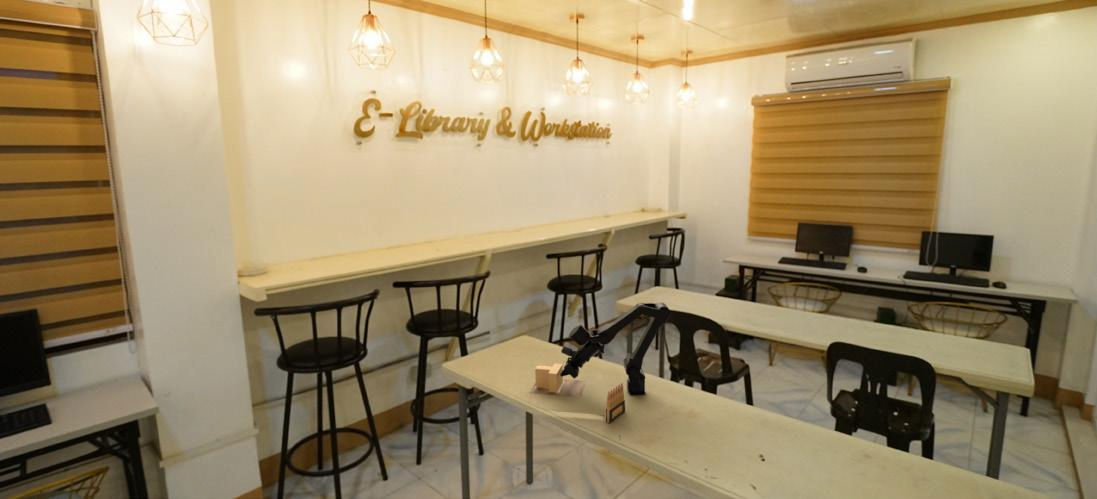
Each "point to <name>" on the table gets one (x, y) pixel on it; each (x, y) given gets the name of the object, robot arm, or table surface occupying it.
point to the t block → (549, 377)
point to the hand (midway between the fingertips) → (560, 375)
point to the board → (563, 388)
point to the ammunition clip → (615, 404)
